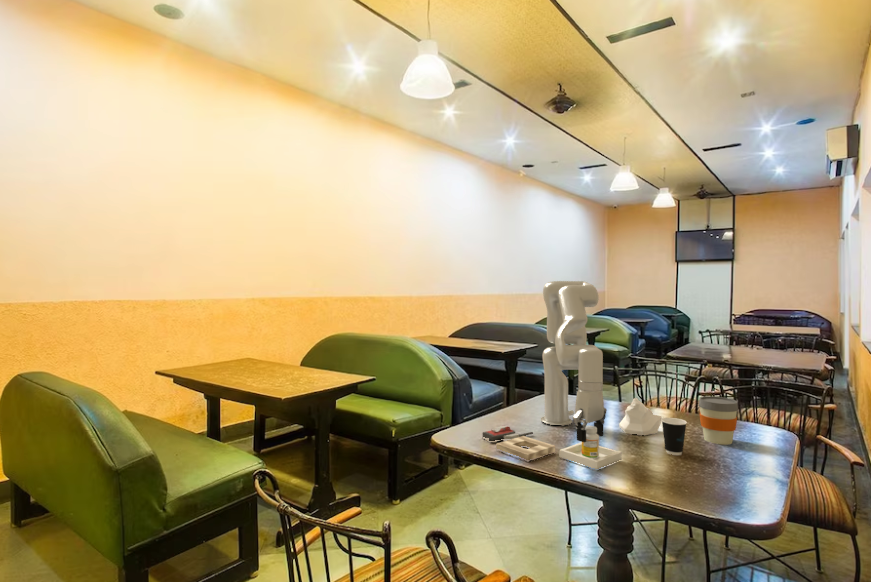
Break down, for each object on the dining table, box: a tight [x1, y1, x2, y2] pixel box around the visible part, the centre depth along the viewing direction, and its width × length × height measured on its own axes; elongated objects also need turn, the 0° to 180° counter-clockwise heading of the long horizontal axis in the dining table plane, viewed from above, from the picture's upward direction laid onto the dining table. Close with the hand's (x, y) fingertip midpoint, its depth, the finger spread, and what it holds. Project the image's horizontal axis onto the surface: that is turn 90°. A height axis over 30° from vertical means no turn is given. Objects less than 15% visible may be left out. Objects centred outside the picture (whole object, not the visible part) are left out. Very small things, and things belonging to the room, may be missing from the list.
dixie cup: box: [661, 417, 688, 456], centre depth 163 cm, size 8×8×11 cm
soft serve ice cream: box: [618, 397, 662, 436], centre depth 186 cm, size 12×15×14 cm
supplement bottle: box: [582, 425, 600, 459], centre depth 156 cm, size 5×5×10 cm
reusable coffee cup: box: [698, 395, 739, 445], centre depth 176 cm, size 13×13×15 cm
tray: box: [558, 441, 623, 469], centre depth 156 cm, size 14×14×3 cm
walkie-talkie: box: [482, 425, 534, 441], centre depth 179 cm, size 9×4×20 cm
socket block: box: [495, 436, 556, 460], centre depth 163 cm, size 14×14×2 cm
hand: (590, 438), depth 156 cm, fingers open, 9 cm apart
